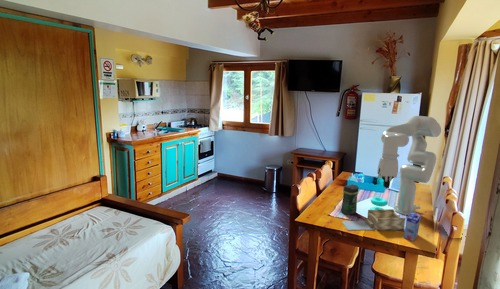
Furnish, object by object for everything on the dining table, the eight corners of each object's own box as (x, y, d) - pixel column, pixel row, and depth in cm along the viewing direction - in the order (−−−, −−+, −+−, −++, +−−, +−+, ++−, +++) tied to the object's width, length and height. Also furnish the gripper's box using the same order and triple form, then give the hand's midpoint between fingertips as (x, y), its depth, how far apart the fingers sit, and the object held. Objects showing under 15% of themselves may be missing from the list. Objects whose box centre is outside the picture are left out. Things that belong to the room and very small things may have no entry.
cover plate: (367, 222, 181) (367, 217, 180) (375, 230, 171) (375, 225, 170) (341, 222, 180) (341, 217, 179) (347, 231, 170) (348, 225, 169)
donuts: (390, 202, 185) (374, 202, 185) (389, 217, 187) (373, 217, 187) (383, 196, 195) (368, 196, 195) (381, 210, 197) (366, 210, 197)
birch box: (392, 220, 183) (393, 209, 181) (403, 230, 171) (405, 218, 169) (367, 221, 181) (368, 209, 180) (376, 230, 169) (378, 218, 168)
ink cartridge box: (414, 241, 159) (418, 216, 156) (403, 238, 162) (406, 213, 159) (418, 234, 166) (422, 210, 163) (407, 231, 169) (410, 207, 167)
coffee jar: (349, 216, 187) (351, 188, 184) (339, 211, 194) (341, 184, 190) (358, 212, 193) (361, 185, 189) (348, 208, 199) (350, 182, 195)
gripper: (398, 154, 171) (395, 184, 175) (373, 155, 170) (370, 185, 174) (406, 158, 164) (402, 189, 168) (380, 158, 163) (376, 190, 167)
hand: (386, 187), depth 171 cm, fingers closed
